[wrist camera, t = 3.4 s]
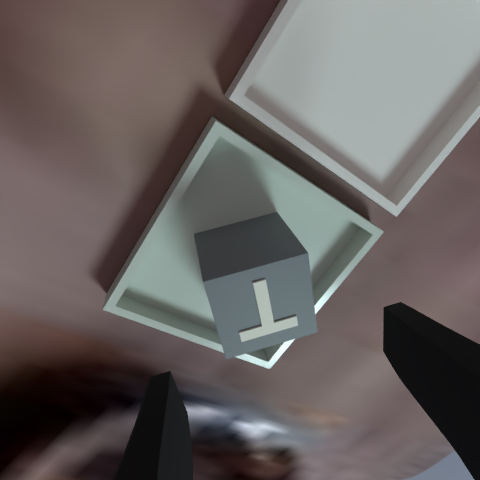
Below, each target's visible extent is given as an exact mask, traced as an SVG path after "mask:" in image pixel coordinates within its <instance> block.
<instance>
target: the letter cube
mask: <svg viewBox="0 0 480 480" xmlns="http://www.w3.org/2000/svg"><path fill="white" fill-rule="evenodd" d="M194 238H195V243H196V249H197V254H198V259H199V264H200V269H201V275H202V280H203V284H204V287H205V291H206V294H207V297H208V301H209V304H210V307H211V311H212V314H213V318H214V321H215V324H216V328H217V331H218V334H219V338H220V341H221V344H222V348H223V351H224V355H225V358H226V359H229V358H233V357H236V356H239V355H243V354H246V353H249V352H253V351H256V350H260V349H263V348H266V347H270V346H273V345H276V344H280V343H283V342H286V341H290V340H293V339H297V338H300V337H303V336H307V335H310V334H313V333H317V325H316V316H315V307H314V298H313V290H312V281H311V272H310V263H309V254H308V252H307V251H306V249H305V248H304V247H303V245H302V244H301V243H300V241H299V240H298V239H297V237H296V236H295V235H294V233H293V232H292V231H291V229H290V228H289V227H288V225H287V224H286V223H285V222H284V220H283V219H282V218H281V216H280V215H279V214H278V212H275V213H271V214H267V215H263V216H259V217H256V218H252V219H248V220H244V221H241V222H237V223H233V224H229V225H225V226H222V227H218V228H214V229H210V230H206V231H203V232H199V233H195V234H194Z"/></svg>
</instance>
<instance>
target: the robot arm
mask: <svg viewBox="0 0 480 480" xmlns="http://www.w3.org/2000/svg"><path fill="white" fill-rule="evenodd" d="M383 351H384V353H385V355H386V357H387V358H388V360H389V362H390V363H391V365H392V367H393V368H394V370H395V372H396V373H397V375H398V376H399V378H400V379H401V381H402V382H403V383H404V385H405V386H406V387H407V389H408V390H409V391H410V393H411V394H412V395H413V396H414V398H415V399H416V400H417V402H418V403H419V404H420V405H421V407H422V408H423V409H424V411H425V412H426V413H427V414H428V416H429V417H430V418H431V420H432V421H433V422H434V423H435V425H436V426H437V427H438V428H439V430H440V431H441V432H442V434H443V435H444V436H445V437H446V439H447V440H448V441H449V443H450V444H451V445H452V447H453V448H454V450H455V451H456V452H457V454H458V455H459V456H460V458H461V459H462V461H463V463H464V464H465V466H466V467H467V469H468V470H469V472H470V473H471V475H472V476H473V478H474V479H475V480H480V344H478V343H476V342H474V341H472V340H470V339H468V338H466V337H464V336H462V335H460V334H458V333H456V332H454V331H453V330H451V329H449V328H447V327H445V326H443V325H441V324H440V323H438V322H436V321H434V320H432V319H431V318H429V317H427V316H425V315H423V314H422V313H420V312H418V311H416V310H414V309H413V308H411V307H409V306H407V305H405V304H403V303H402V302H400V303H396V304H393V305H389V306H386V307H384V337H383ZM113 480H193V465H192V444H191V436H190V429H189V422H188V415H187V411H186V408H185V406H184V403H183V401H182V399H181V396H180V394H179V391H178V389H177V387H176V384H175V382H174V379H173V377H172V375H171V372H170V371H169V372H166V373H162V374H159V375H156V376H152V377H151V378H150V379H149V381H148V384H147V388H146V391H145V395H144V398H143V401H142V405H141V408H140V411H139V414H138V417H137V420H136V423H135V425H134V428H133V431H132V433H131V436H130V439H129V442H128V444H127V447H126V450H125V452H124V455H123V457H122V459H121V462H120V464H119V466H118V469H117V471H116V474H115V476H114V478H113Z"/></svg>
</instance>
